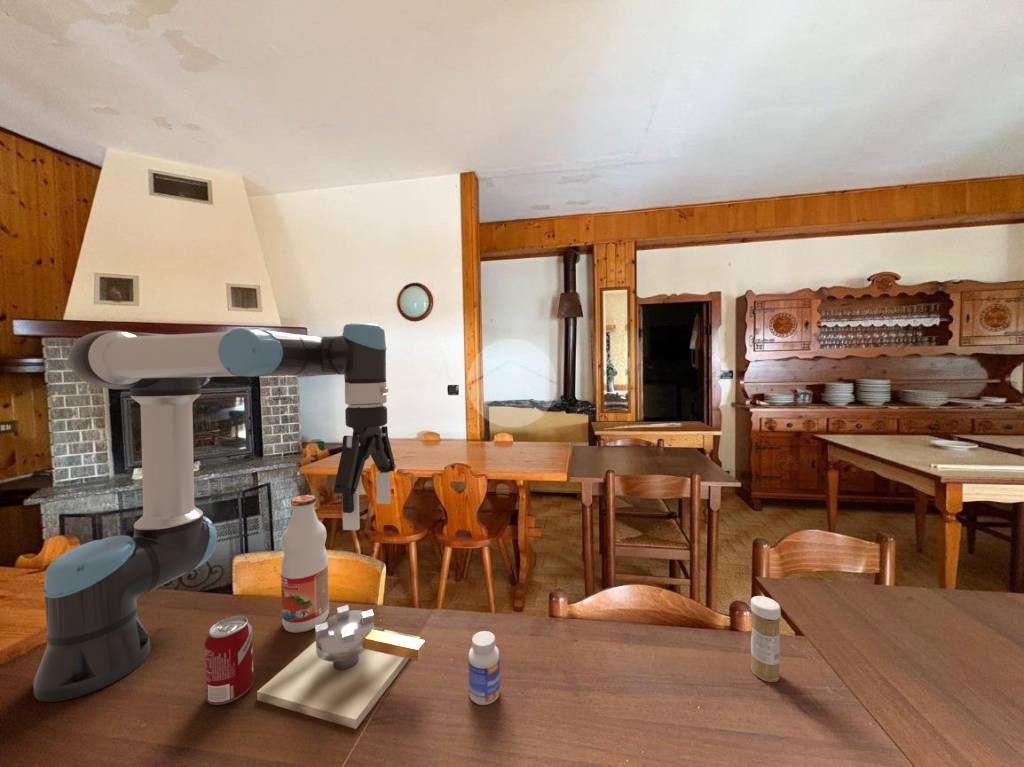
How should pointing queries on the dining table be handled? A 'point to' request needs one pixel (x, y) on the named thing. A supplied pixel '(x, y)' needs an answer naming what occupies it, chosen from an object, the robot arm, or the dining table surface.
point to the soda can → (229, 660)
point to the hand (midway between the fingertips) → (368, 515)
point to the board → (334, 684)
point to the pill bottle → (484, 669)
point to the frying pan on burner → (360, 637)
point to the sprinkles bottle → (765, 638)
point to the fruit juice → (304, 568)
